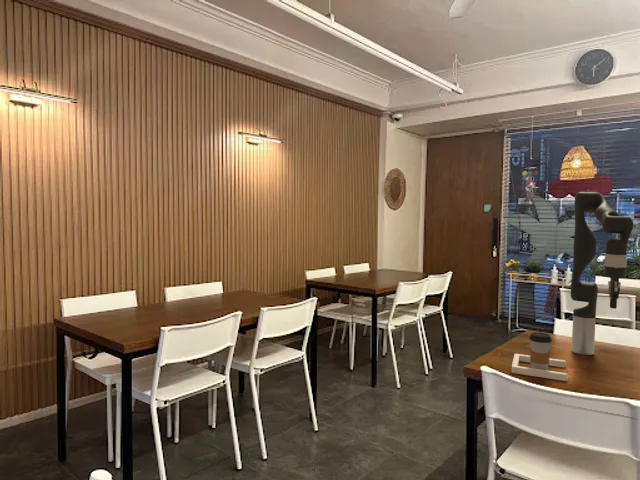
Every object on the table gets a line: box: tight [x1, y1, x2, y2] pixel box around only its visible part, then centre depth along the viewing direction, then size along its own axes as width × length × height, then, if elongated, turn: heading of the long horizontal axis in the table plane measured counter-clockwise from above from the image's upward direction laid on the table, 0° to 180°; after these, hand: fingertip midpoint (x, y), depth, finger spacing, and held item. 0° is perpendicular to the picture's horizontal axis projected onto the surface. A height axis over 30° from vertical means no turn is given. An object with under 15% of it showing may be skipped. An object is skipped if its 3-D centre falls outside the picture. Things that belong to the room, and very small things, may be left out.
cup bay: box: [511, 353, 568, 382], centre depth 192 cm, size 20×20×2 cm
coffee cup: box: [529, 331, 552, 371], centre depth 190 cm, size 8×8×15 cm
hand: (613, 308), depth 187 cm, fingers closed
